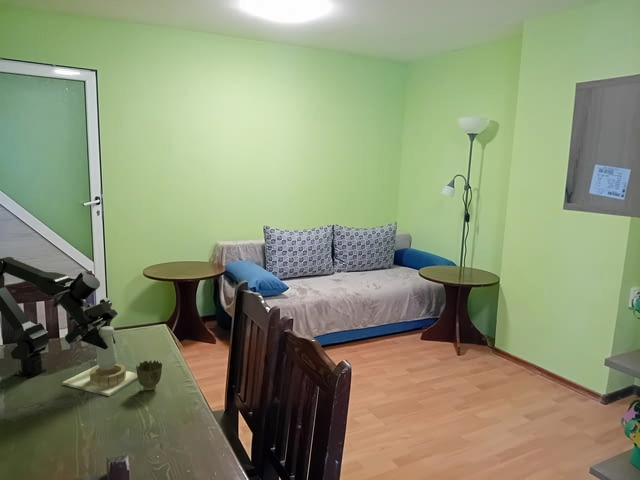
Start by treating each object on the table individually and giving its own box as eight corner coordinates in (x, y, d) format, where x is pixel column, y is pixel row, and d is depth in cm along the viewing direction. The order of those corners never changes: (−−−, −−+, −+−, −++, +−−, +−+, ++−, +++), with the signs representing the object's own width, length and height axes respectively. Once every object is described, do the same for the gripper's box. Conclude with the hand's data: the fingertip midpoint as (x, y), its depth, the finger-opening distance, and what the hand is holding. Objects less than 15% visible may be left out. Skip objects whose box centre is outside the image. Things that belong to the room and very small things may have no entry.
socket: (62, 384, 142) (62, 373, 142) (98, 366, 155) (97, 356, 155) (109, 396, 136) (108, 384, 136) (142, 376, 149) (141, 365, 149)
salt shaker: (95, 365, 145) (94, 325, 143) (115, 362, 148) (114, 323, 146) (98, 372, 140) (97, 331, 138) (118, 369, 143) (118, 328, 142)
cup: (154, 397, 137) (153, 371, 136) (131, 393, 138) (130, 368, 137) (167, 385, 144) (166, 361, 143) (145, 382, 145) (145, 358, 144)
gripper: (72, 300, 132) (108, 341, 132) (111, 284, 150) (143, 320, 150) (49, 324, 135) (84, 364, 135) (90, 305, 153) (121, 341, 153)
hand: (110, 346), depth 143 cm, fingers closed on salt shaker, 3 cm apart
